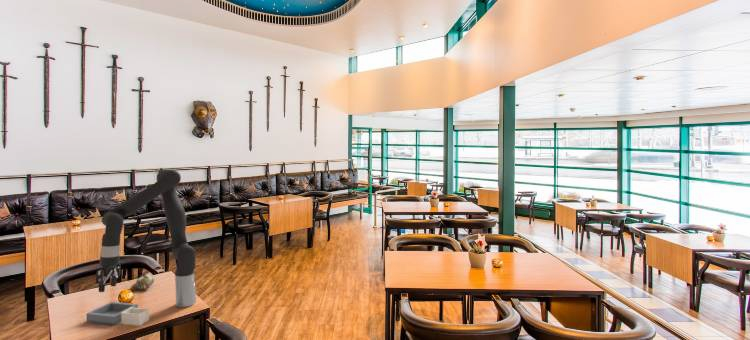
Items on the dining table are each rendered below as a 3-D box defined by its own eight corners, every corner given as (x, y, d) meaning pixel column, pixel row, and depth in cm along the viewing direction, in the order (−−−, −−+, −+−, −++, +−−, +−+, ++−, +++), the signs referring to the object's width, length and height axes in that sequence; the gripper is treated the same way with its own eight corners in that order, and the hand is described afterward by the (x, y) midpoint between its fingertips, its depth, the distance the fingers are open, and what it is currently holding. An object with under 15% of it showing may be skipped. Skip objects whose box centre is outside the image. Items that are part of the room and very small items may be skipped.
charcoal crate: (111, 309, 194) (111, 301, 194) (138, 312, 192) (137, 304, 191) (86, 322, 181) (86, 313, 180) (114, 325, 178) (114, 316, 178)
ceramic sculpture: (158, 269, 231) (145, 279, 216) (159, 282, 232) (146, 293, 217) (140, 269, 230) (126, 280, 215) (141, 283, 231) (127, 294, 216)
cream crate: (131, 318, 185) (131, 307, 185) (149, 320, 184) (148, 309, 183) (121, 324, 179) (121, 312, 179) (139, 326, 178) (139, 314, 177)
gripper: (108, 258, 167) (106, 294, 167) (127, 251, 181) (125, 284, 181) (91, 257, 166) (88, 293, 166) (111, 250, 180) (109, 283, 180)
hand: (107, 288), depth 174 cm, fingers open, 8 cm apart
